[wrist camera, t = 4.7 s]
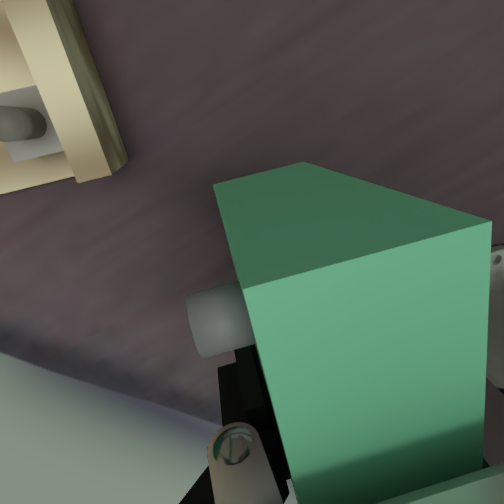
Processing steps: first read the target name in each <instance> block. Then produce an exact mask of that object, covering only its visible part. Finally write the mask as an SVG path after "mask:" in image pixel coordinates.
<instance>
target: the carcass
mask: <svg viewBox="0 0 504 504" xmlns="http://www.w3.org/2000/svg"><path fill="white" fill-rule="evenodd" d="M127 162H129V159H128V156H127V153H126V150H125V147H124V145H123V142H122V139H121V136H120V133H119V130H118V128H117V125H116V122H115V119H114V116H113V113H112V111H111V108H110V105H109V102H108V99H107V96H106V94H105V91H104V88H103V85H102V82H101V79H100V77H99V74H98V71H97V68H96V65H95V62H94V60H93V57H92V54H91V51H90V48H89V45H88V42H87V40H86V37H85V34H84V31H83V28H82V25H81V23H80V20H79V17H78V14H77V11H76V8H75V6H74V3H73V0H0V194H4V193H8V192H12V191H16V190H20V189H24V188H28V187H32V186H36V185H40V184H44V183H48V182H52V181H57V180H61V179H65V178H69V177H73V176H75V178H76V181H77V183H80V182H85V181H89V180H93V179H97V178H101V177H105V176H109V175H112V174H113V173H115V172H116V171H117V170H118V169H120V168H121V167H122V166H124V165H125V164H126V163H127Z"/></svg>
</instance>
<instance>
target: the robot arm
mask: <svg viewBox="0 0 504 504" xmlns="http://www.w3.org/2000/svg"><path fill="white" fill-rule="evenodd" d="M234 351H235V357H236V362H235V363H232V364H228V365H225V366H221V367H218V379H219V391H220V402H221V413H222V424H223V427H222V428H220V429H219V430H218V431H217V432H216V433H215V434H214V435H213V437H212V438H211V440H210V441H209V444H208V447H207V458H208V464H209V466H208V467H207V468H206V470H205V471H204V472H203V473H202V475H201V476H200V477H199V479H198V480H197V481H196V483H195V484H194V485H193V486H192V488H191V489H190V490H189V491H188V493H187V494H186V496H185V497H184V498H183V499H182V501H181V502H180V503H179V504H284V502H285V500H286V499H287V497H288V495H289V489H288V485H287V482H286V480H288V479H291V475H290V471H289V468H288V464H287V460H286V456H285V453H284V449H283V445H282V441H281V437H280V434H279V430H278V426H277V422H276V419H275V415H274V411H273V407H272V404H271V400H270V396H269V392H268V389H267V385H266V381H265V378H264V374H263V370H262V367H261V363H260V359H259V356H258V352H257V348H256V345H255V344H253V345H249V346H246V347H242V348H239V349H235V350H234ZM376 504H504V245H498V246H494V247H491V259H490V285H489V310H488V336H487V362H486V388H485V413H484V439H483V465H482V469H481V470H478V471H475V472H472V473H469V474H466V475H462V476H459V477H456V478H453V479H450V480H447V481H444V482H441V483H437V484H434V485H431V486H428V487H425V488H422V489H419V490H416V491H413V492H410V493H406V494H403V495H400V496H397V497H394V498H391V499H388V500H385V501H382V502H379V503H376Z"/></svg>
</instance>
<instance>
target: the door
mask: <svg viewBox="0 0 504 504" xmlns="http://www.w3.org/2000/svg"><path fill="white" fill-rule="evenodd" d="M213 188H214V192H215V195H216V199H217V203H218V207H219V210H220V214H221V218H222V222H223V225H224V229H225V233H226V237H227V241H228V244H229V248H230V252H231V256H232V259H233V263H234V267H235V271H236V274H237V278H238V281H237V282H234V283H230V284H226V285H223V286H219V287H215V288H211V289H208V290H204V291H200V292H197V293H193V294H189V295H187V297H186V304H187V313H188V318H189V323H190V328H191V332H192V335H193V339H194V342H195V345H196V348H197V350H198V353H199V355H200V357H201V358H202V359H204V358H207V357H211V356H214V355H218V354H221V353H225V352H228V351H232V350H235V349H239V348H242V347H246V346H249V345H253V344H255V345H256V348H257V352H258V356H259V359H260V363H261V367H262V370H263V374H264V378H265V381H266V385H267V389H268V392H269V396H270V400H271V404H272V407H273V411H274V415H275V419H276V422H277V426H278V430H279V434H280V437H281V441H282V445H283V449H284V453H285V456H286V460H287V464H288V468H289V471H290V475H291V481H292V484H293V488H294V491H295V495H296V499H297V503H298V504H376V503H379V502H382V501H385V500H388V499H391V498H394V497H397V496H400V495H403V494H406V493H410V492H413V491H416V490H419V489H422V488H425V487H428V486H431V485H434V484H437V483H441V482H444V481H447V480H450V479H453V478H456V477H459V476H462V475H466V474H469V473H472V472H475V471H478V470H481V469H482V465H483V439H484V413H485V388H486V362H487V336H488V310H489V285H490V259H491V233H492V221H490V220H487V219H484V218H481V217H477V216H474V215H471V214H468V213H465V212H462V211H458V210H455V209H452V208H449V207H446V206H443V205H440V204H436V203H433V202H430V201H427V200H424V199H421V198H417V197H414V196H411V195H408V194H405V193H402V192H398V191H395V190H392V189H389V188H386V187H383V186H379V185H376V184H373V183H370V182H367V181H364V180H361V179H357V178H354V177H351V176H348V175H345V174H342V173H338V172H335V171H332V170H329V169H326V168H323V167H319V166H316V165H313V164H310V163H307V162H300V163H296V164H292V165H288V166H284V167H280V168H276V169H272V170H269V171H265V172H261V173H257V174H253V175H249V176H245V177H241V178H237V179H233V180H229V181H225V182H221V183H217V184H213Z"/></svg>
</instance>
